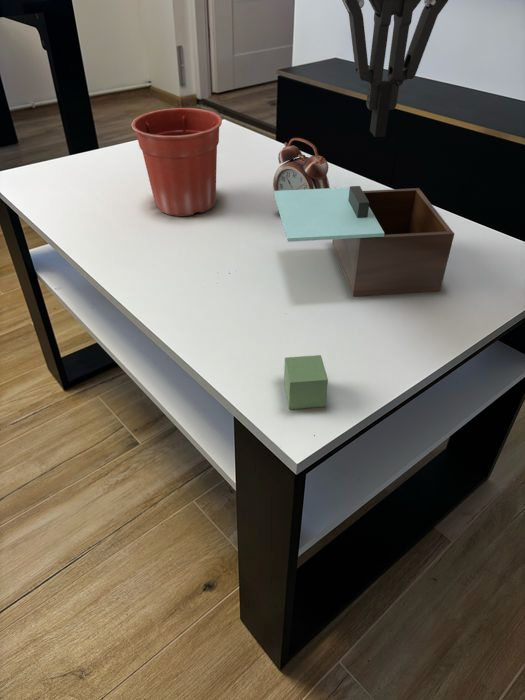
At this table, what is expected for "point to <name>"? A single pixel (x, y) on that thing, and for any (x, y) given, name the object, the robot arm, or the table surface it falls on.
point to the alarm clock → (300, 169)
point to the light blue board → (326, 214)
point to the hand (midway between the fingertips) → (377, 133)
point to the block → (305, 382)
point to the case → (397, 247)
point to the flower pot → (180, 158)
